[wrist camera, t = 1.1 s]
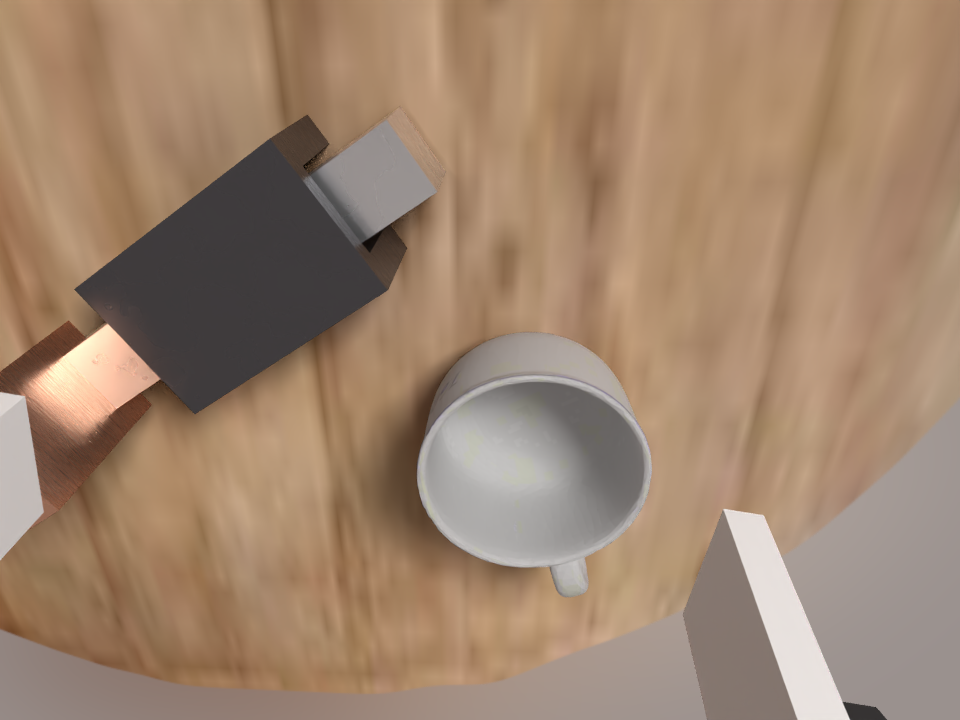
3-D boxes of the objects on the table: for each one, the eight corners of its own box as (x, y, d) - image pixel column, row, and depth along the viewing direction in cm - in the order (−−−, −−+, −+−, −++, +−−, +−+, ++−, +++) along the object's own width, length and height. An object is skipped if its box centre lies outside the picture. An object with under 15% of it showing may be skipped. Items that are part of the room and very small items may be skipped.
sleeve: (133, 248, 39) (74, 289, 34) (307, 114, 35) (269, 138, 30) (235, 360, 41) (195, 414, 36) (407, 248, 38) (387, 290, 33)
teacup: (422, 314, 39) (398, 390, 32) (630, 298, 38) (652, 372, 31) (456, 521, 46) (442, 622, 39) (635, 512, 44) (654, 615, 37)
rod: (-2, 373, 42) (-156, 488, 33) (384, 82, 34) (326, 125, 24) (77, 448, 44) (-46, 576, 35) (460, 192, 36) (434, 271, 26)
